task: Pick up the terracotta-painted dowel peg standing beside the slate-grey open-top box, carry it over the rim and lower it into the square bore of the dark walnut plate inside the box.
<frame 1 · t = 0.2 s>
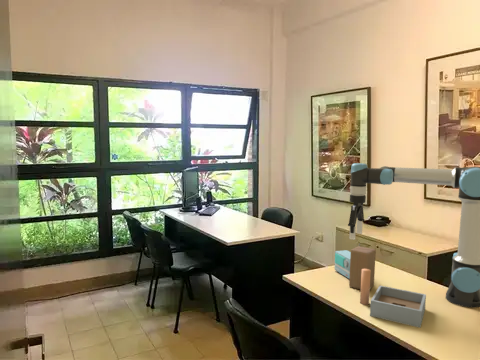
hand: (355, 236, 194), 28 cm above the table, fingers open, 13 cm apart
peg: (364, 303, 180), on the table
radio: (346, 275, 217), on the table
wooden block: (361, 286, 201), on the table
bore box: (398, 312, 171), on the table
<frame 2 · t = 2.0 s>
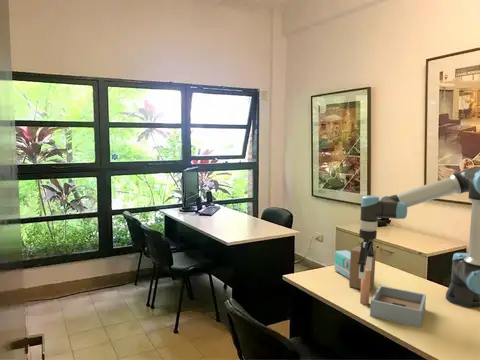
hand: (365, 274, 179), 14 cm above the table, fingers open, 13 cm apart
nothing on the table moved.
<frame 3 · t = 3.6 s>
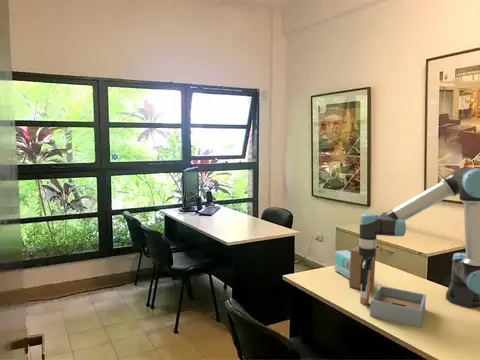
hand: (364, 295, 180), 4 cm above the table, fingers closed on peg, 4 cm apart
peg: (364, 303, 180), on the table, touching gripper
everything else where it was.
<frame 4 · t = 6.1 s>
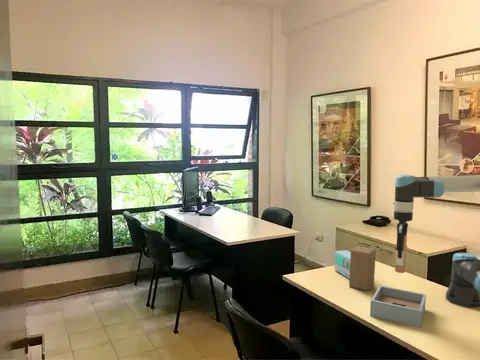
hand: (400, 263, 169), 22 cm above the table, fingers closed on peg, 4 cm apart
peg: (399, 271, 169), point 19 cm above the table, touching gripper
everything else where it was.
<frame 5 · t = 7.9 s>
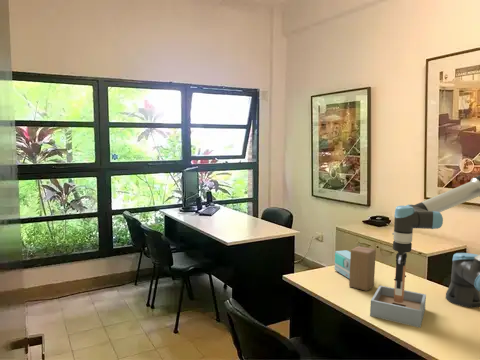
hand: (399, 293, 170), 9 cm above the table, fingers closed on peg, 4 cm apart
peg: (398, 300, 171), point 5 cm above the table, touching gripper
everything else where it was.
when the fingers open (5 cm above the table, at t = 8.9 s): peg drops 1 cm, resting in bore box.
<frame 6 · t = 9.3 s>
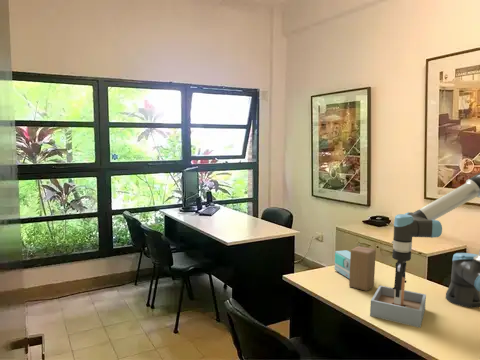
hand: (398, 299, 170), 6 cm above the table, fingers open, 8 cm apart
peg: (398, 312, 171), resting in bore box
everything else where it was.
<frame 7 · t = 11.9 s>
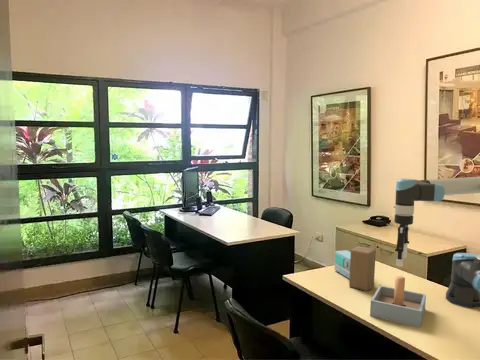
hand: (401, 261, 170), 23 cm above the table, fingers open, 13 cm apart
nothing on the table moved.
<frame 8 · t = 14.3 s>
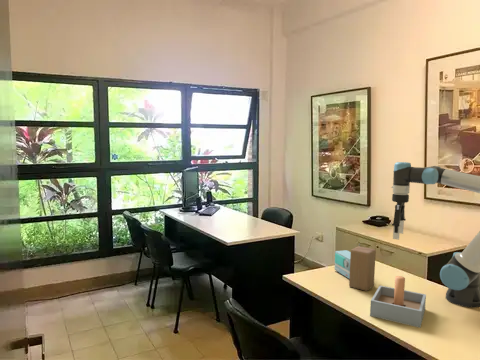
hand: (398, 236, 191), 29 cm above the table, fingers open, 13 cm apart
nothing on the table moved.
at the end: peg 0.1 cm off-centre on the bore box, point 0.0 cm above the bore box's base; peg tilted 0°; the gripper is holding nothing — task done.
